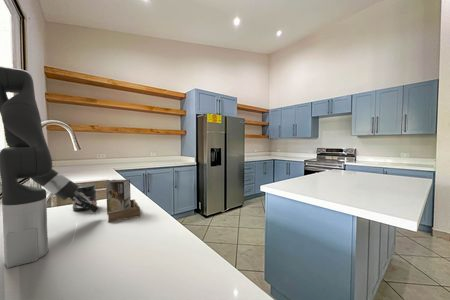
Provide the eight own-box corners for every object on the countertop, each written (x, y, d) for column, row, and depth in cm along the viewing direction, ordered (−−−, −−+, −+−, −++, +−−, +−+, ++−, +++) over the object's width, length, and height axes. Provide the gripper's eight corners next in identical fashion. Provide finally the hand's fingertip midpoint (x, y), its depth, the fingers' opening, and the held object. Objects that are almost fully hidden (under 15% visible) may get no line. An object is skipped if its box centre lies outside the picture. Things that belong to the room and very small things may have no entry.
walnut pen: (139, 216, 91) (139, 207, 91) (108, 222, 84) (108, 213, 84) (134, 206, 105) (134, 199, 105) (107, 211, 98) (106, 203, 98)
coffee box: (131, 210, 99) (131, 179, 98) (125, 214, 93) (124, 181, 92) (113, 210, 99) (113, 179, 99) (106, 214, 93) (105, 181, 92)
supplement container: (77, 213, 95) (77, 189, 95) (69, 209, 101) (68, 186, 100) (100, 207, 104) (100, 185, 104) (91, 203, 110) (91, 183, 109)
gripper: (67, 182, 77) (103, 207, 84) (71, 177, 88) (103, 199, 95) (49, 197, 74) (89, 222, 81) (56, 190, 86) (90, 212, 93)
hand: (96, 210), depth 88 cm, fingers closed
